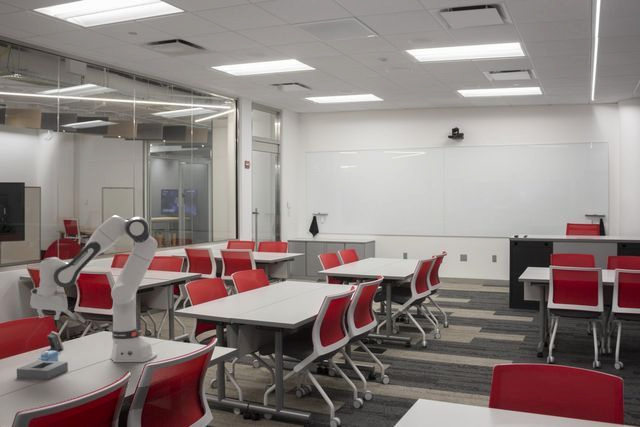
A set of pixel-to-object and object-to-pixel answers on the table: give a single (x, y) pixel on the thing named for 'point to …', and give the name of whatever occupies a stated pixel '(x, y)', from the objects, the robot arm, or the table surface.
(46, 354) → the servo
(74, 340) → the table surface
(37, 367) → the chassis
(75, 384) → the table surface
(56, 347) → the electrical switch
